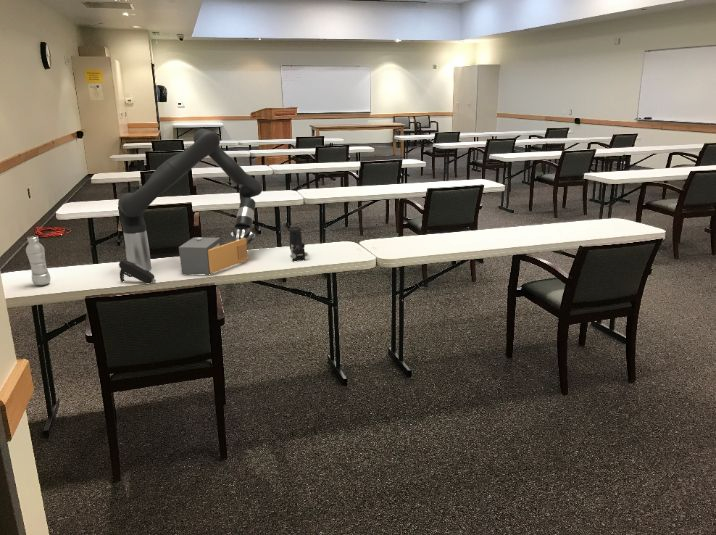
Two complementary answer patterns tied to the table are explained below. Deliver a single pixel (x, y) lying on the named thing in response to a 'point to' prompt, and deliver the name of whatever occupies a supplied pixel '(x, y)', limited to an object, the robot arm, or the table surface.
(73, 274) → the table surface
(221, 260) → the side door
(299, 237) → the scope
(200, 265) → the grey cabinet body
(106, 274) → the table surface
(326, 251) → the table surface
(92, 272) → the table surface
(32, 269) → the plastic bottle
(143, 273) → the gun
